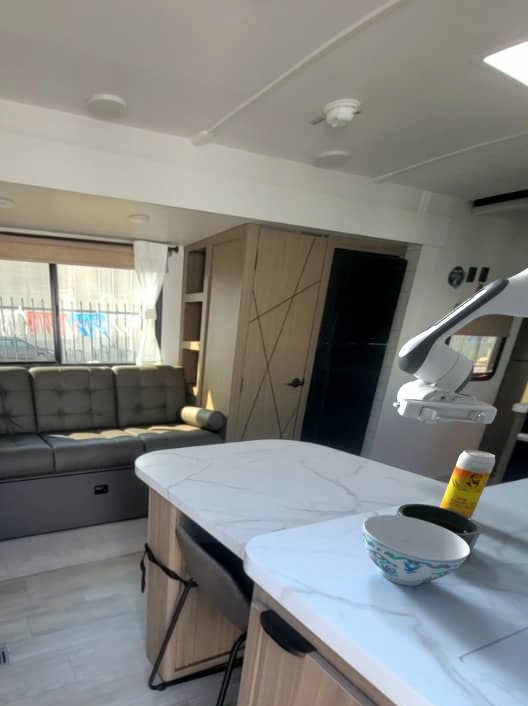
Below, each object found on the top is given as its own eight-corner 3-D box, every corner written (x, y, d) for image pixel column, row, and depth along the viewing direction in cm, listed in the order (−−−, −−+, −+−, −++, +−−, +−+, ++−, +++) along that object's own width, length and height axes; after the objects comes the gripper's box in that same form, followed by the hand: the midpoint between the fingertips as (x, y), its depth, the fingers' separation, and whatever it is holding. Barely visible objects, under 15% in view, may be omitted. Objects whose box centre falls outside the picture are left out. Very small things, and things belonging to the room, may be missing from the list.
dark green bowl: (445, 530, 85) (455, 506, 83) (486, 564, 73) (499, 538, 71) (379, 524, 87) (387, 501, 84) (408, 557, 75) (418, 531, 72)
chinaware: (378, 600, 63) (393, 557, 59) (337, 550, 76) (348, 513, 73) (474, 603, 63) (495, 561, 59) (416, 553, 76) (431, 516, 73)
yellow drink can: (443, 521, 89) (469, 456, 83) (432, 510, 95) (456, 447, 88) (474, 525, 88) (503, 459, 82) (462, 513, 94) (488, 451, 87)
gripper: (394, 390, 105) (416, 400, 93) (481, 396, 102) (515, 408, 90) (387, 414, 108) (407, 427, 96) (471, 421, 105) (502, 435, 93)
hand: (460, 418), depth 93 cm, fingers open, 8 cm apart
